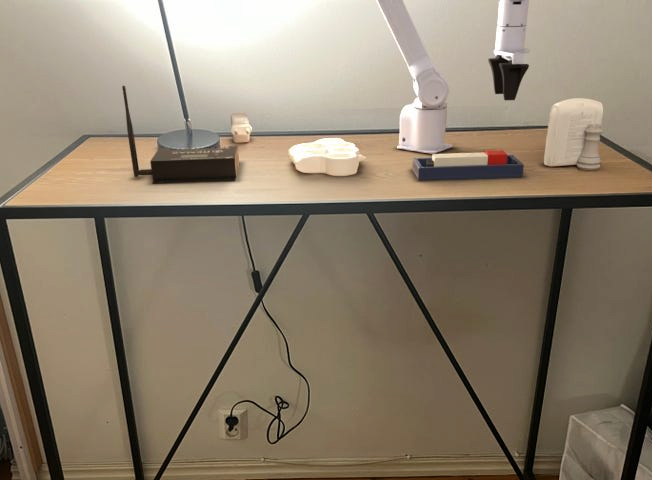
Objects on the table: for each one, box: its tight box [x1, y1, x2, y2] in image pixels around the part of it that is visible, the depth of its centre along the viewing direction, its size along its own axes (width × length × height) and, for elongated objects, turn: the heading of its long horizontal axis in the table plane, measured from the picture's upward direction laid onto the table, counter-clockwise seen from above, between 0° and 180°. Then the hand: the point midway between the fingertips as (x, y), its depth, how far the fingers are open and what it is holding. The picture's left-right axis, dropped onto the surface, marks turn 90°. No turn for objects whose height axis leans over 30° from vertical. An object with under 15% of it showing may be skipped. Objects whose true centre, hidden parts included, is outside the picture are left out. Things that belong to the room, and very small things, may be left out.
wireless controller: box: [121, 85, 240, 185], centre depth 139 cm, size 20×14×17 cm
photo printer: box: [543, 97, 604, 167], centre depth 139 cm, size 10×4×12 cm, turn 102°
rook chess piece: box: [576, 124, 604, 171], centre depth 138 cm, size 4×4×8 cm
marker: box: [426, 149, 508, 167], centre depth 137 cm, size 15×3×3 cm, turn 92°
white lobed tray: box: [288, 137, 367, 177], centre depth 145 cm, size 3×18×15 cm
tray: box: [412, 154, 525, 182], centre depth 137 cm, size 20×8×2 cm, turn 92°
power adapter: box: [229, 112, 253, 144], centre depth 164 cm, size 11×5×6 cm, turn 9°
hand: (504, 96), depth 151 cm, fingers open, 7 cm apart
